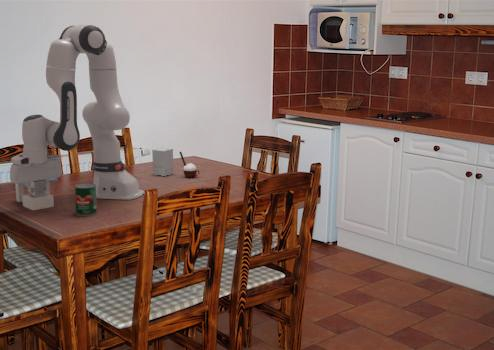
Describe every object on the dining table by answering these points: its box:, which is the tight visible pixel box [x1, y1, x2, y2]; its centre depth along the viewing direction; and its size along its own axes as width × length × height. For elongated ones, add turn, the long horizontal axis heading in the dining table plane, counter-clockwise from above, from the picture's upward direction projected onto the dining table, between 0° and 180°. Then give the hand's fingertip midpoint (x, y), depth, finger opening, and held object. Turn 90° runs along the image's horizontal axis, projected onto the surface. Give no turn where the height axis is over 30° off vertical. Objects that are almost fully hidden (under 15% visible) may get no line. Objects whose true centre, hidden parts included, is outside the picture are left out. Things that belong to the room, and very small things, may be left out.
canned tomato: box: [74, 182, 98, 217], centre depth 252 cm, size 8×8×11 cm
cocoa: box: [179, 151, 200, 178], centre depth 316 cm, size 10×6×12 cm, turn 57°
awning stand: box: [14, 177, 59, 211], centre depth 266 cm, size 18×15×9 cm
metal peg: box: [30, 180, 45, 198], centre depth 260 cm, size 4×4×9 cm
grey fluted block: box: [151, 147, 174, 177], centre depth 320 cm, size 7×7×13 cm
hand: (37, 191), depth 260 cm, fingers closed on metal peg, 4 cm apart
